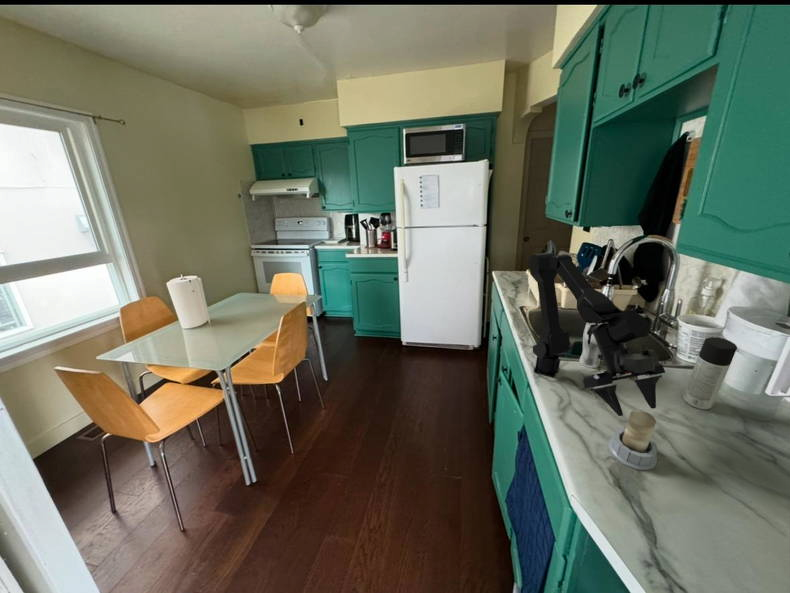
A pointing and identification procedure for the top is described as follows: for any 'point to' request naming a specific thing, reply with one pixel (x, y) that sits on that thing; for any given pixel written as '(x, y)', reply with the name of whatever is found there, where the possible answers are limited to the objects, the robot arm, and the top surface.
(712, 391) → the spray can
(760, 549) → the top surface
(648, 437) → the birch plug
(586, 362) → the beer glass
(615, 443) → the round socket
